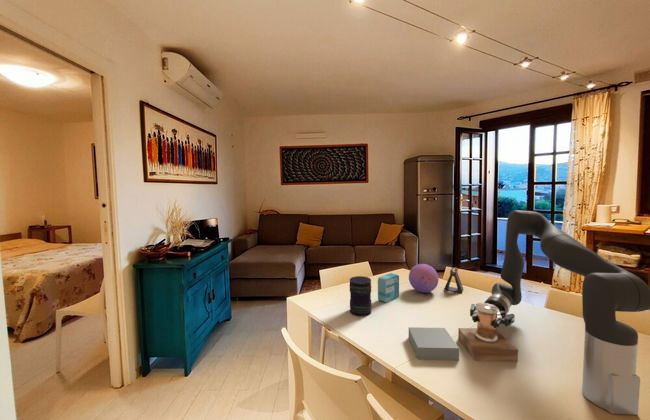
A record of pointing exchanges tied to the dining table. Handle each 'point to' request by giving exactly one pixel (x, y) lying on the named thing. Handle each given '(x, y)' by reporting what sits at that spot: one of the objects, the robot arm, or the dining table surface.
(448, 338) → the slate stand
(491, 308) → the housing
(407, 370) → the dining table surface
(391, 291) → the data package
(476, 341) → the walnut stand
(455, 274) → the phone stand
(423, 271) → the decorative ball
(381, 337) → the dining table surface
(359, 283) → the dark blue cylinder
